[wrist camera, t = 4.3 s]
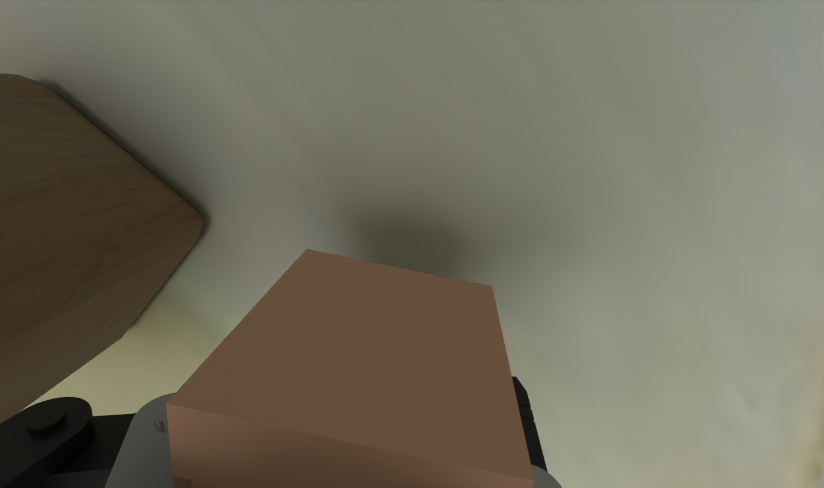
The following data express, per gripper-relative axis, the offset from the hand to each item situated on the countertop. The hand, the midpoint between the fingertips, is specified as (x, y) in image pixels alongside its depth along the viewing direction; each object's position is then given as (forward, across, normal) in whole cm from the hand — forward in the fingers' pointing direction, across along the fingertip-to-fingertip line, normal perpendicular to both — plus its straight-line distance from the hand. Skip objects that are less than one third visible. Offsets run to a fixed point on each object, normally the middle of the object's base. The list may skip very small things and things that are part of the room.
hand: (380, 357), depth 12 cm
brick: (+1, 0, 0) cm, 1 cm away
